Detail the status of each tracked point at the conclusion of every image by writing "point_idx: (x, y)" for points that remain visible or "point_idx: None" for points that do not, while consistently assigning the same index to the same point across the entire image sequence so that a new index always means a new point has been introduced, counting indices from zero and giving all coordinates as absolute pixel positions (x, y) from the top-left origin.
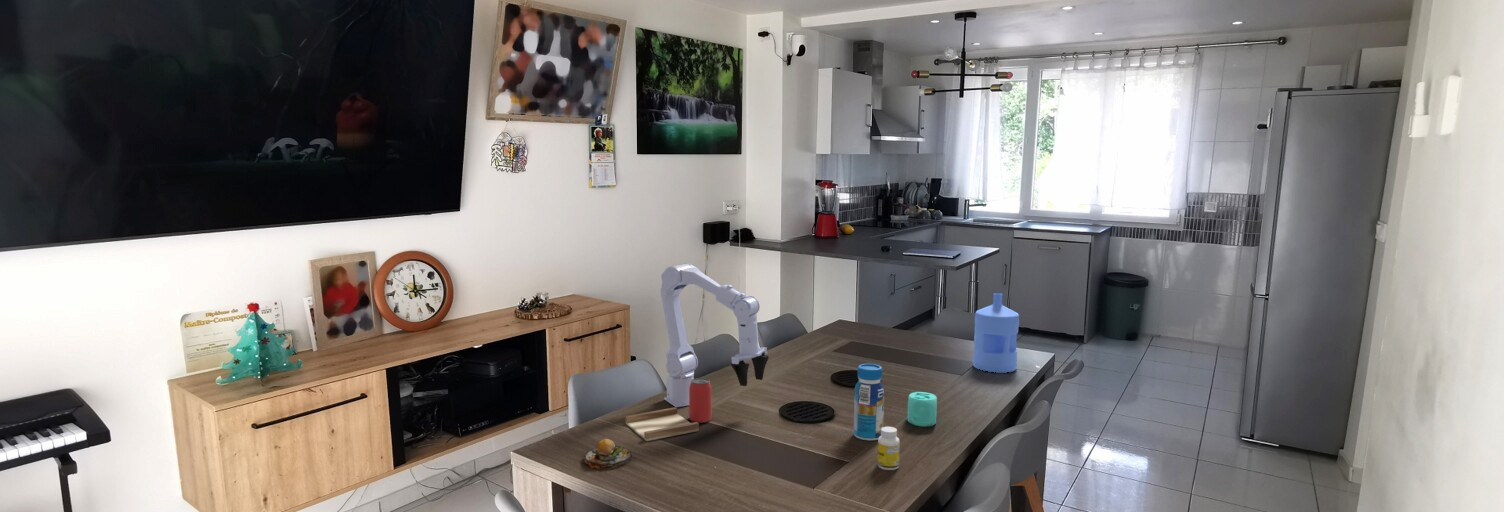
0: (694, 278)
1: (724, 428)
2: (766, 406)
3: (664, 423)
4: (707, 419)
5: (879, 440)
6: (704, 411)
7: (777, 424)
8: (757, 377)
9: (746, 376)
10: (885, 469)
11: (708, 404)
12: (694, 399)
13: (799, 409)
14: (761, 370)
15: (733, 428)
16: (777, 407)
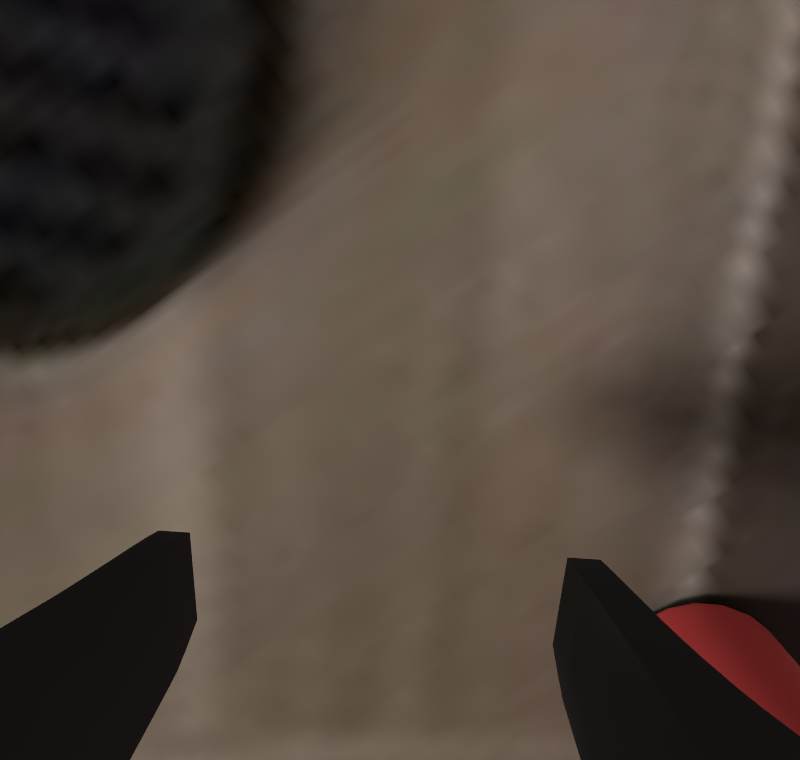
0: None
1: (765, 427)
2: (143, 447)
3: None
4: (729, 612)
5: None
6: (798, 673)
7: (442, 115)
8: (182, 617)
9: (668, 661)
10: None
11: (793, 706)
12: None
13: (6, 178)
14: (93, 641)
15: (729, 370)
16: (101, 363)
